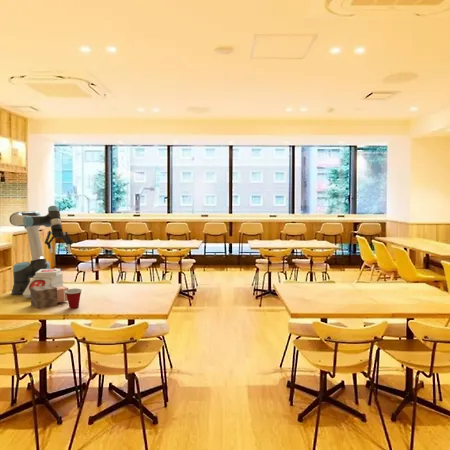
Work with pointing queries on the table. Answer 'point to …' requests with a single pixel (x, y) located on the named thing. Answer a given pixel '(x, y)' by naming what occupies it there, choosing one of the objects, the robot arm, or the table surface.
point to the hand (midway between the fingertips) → (60, 253)
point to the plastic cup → (73, 297)
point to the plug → (61, 294)
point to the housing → (43, 296)
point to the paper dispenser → (45, 279)
